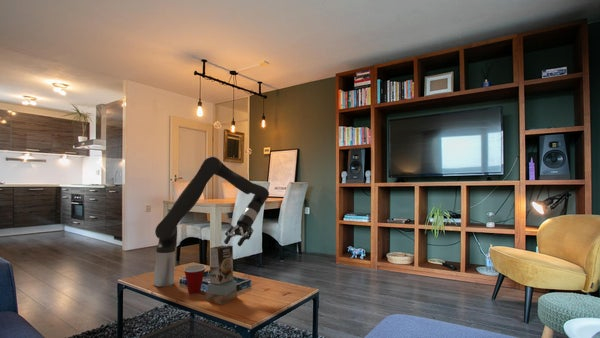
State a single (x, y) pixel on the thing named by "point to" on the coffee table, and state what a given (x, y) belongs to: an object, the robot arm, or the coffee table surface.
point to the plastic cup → (194, 277)
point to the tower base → (221, 297)
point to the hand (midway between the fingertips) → (232, 244)
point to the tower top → (221, 288)
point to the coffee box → (221, 264)
